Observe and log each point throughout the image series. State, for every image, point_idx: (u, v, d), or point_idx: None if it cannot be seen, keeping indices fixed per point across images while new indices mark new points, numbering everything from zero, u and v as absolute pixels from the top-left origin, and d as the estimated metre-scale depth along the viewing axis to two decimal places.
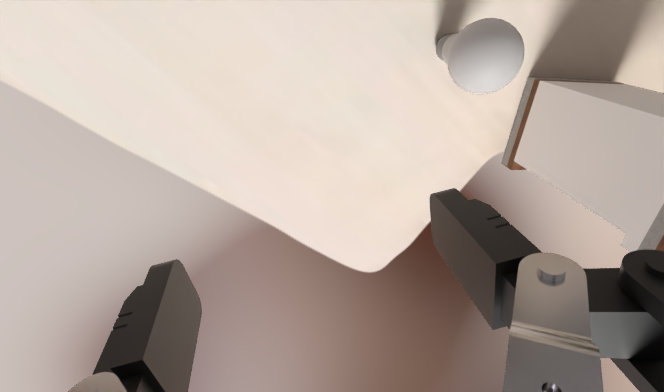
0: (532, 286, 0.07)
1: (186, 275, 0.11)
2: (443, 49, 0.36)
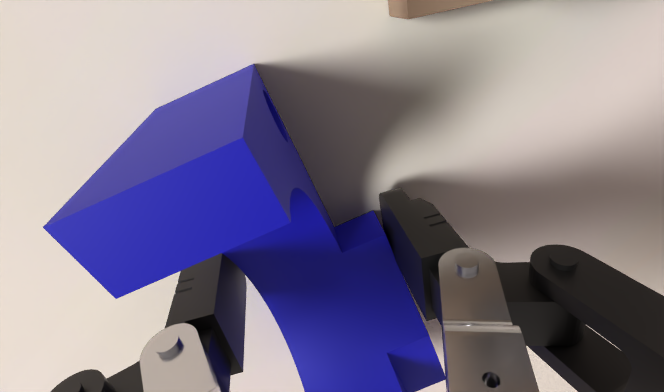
0: (453, 282, 0.08)
1: None
2: None
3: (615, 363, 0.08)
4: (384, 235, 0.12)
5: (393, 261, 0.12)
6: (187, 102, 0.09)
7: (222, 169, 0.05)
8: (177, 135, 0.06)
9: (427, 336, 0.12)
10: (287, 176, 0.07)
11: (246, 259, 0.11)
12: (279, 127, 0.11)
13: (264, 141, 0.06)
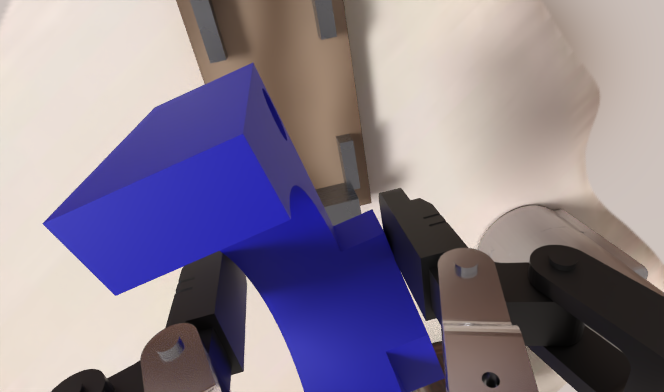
0: (453, 282, 0.08)
1: None
2: None
3: (614, 363, 0.08)
4: (383, 234, 0.12)
5: (392, 260, 0.12)
6: (186, 100, 0.09)
7: (223, 165, 0.05)
8: (177, 132, 0.06)
9: (426, 335, 0.12)
10: (287, 174, 0.07)
11: (245, 257, 0.11)
12: (278, 126, 0.11)
13: (264, 138, 0.06)
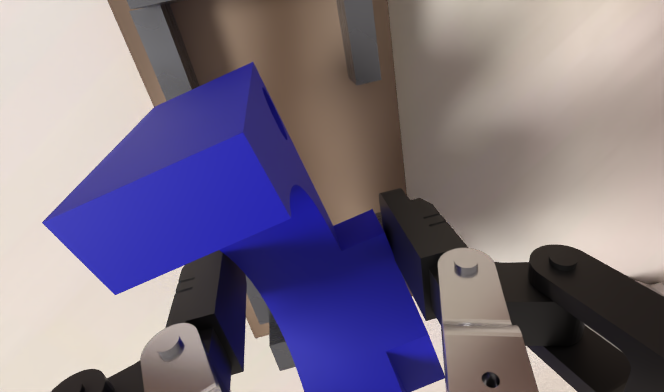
0: (453, 282, 0.08)
1: None
2: None
3: (614, 363, 0.08)
4: (383, 233, 0.12)
5: (392, 259, 0.12)
6: (186, 99, 0.09)
7: (223, 165, 0.05)
8: (177, 131, 0.06)
9: (426, 334, 0.12)
10: (287, 173, 0.07)
11: (245, 257, 0.11)
12: (278, 125, 0.11)
13: (264, 137, 0.06)
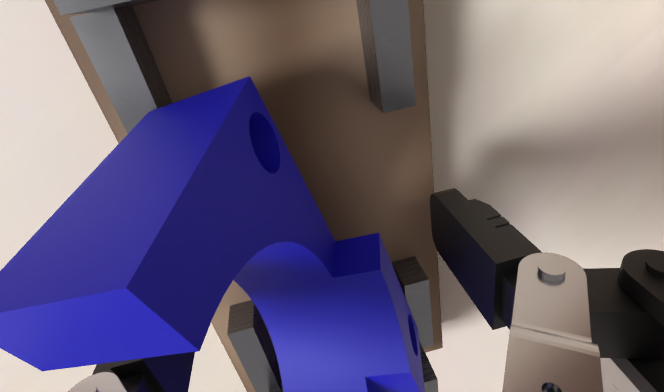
0: (532, 286, 0.07)
1: None
2: None
3: None
4: (379, 270, 0.11)
5: (387, 294, 0.11)
6: (167, 124, 0.08)
7: (113, 308, 0.04)
8: (112, 210, 0.06)
9: (408, 373, 0.12)
10: (239, 251, 0.07)
11: None
12: (275, 147, 0.10)
13: (199, 233, 0.06)
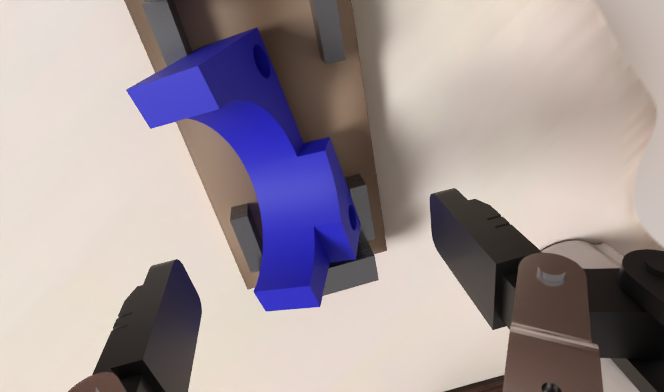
0: (532, 286, 0.07)
1: (186, 275, 0.11)
2: None
3: None
4: (324, 151, 0.18)
5: (329, 170, 0.19)
6: (212, 45, 0.16)
7: (190, 78, 0.12)
8: (188, 62, 0.14)
9: (340, 222, 0.19)
10: (240, 93, 0.14)
11: (238, 146, 0.18)
12: (268, 69, 0.17)
13: (224, 71, 0.13)
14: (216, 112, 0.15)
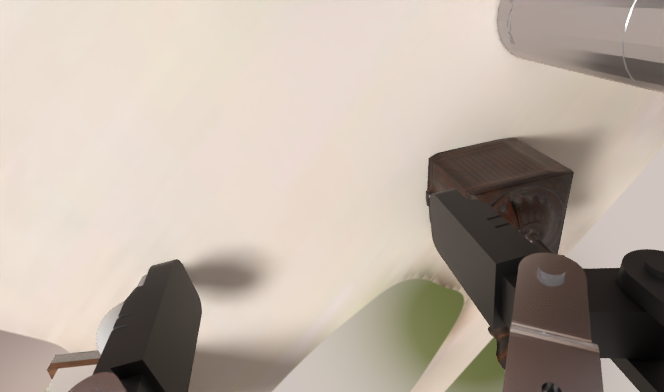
0: (532, 286, 0.07)
1: (186, 275, 0.11)
2: None
3: None
4: None
5: None
6: None
7: None
8: None
9: None
10: None
11: None
12: None
13: None
14: None
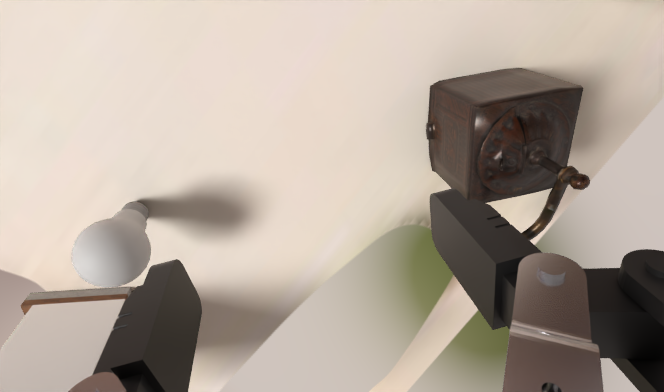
0: (532, 286, 0.07)
1: (186, 275, 0.11)
2: (126, 210, 0.36)
3: None
4: None
5: None
6: None
7: None
8: None
9: None
10: None
11: None
12: None
13: None
14: None
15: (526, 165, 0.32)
